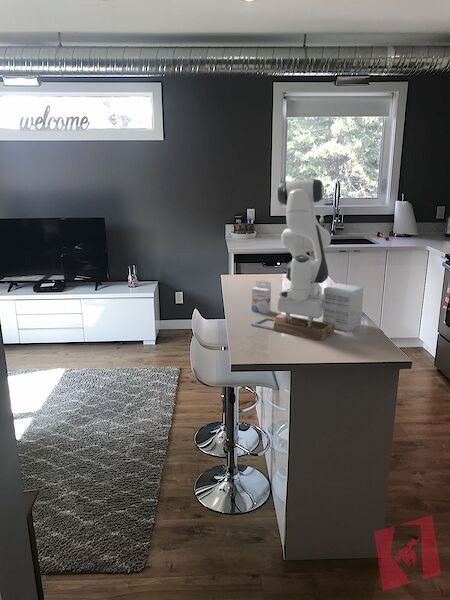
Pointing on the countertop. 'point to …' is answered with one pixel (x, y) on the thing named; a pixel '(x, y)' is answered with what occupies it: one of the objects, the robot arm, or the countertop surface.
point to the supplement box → (343, 306)
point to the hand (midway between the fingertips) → (299, 324)
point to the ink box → (261, 297)
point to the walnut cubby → (306, 328)
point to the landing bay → (263, 325)
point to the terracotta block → (282, 319)
